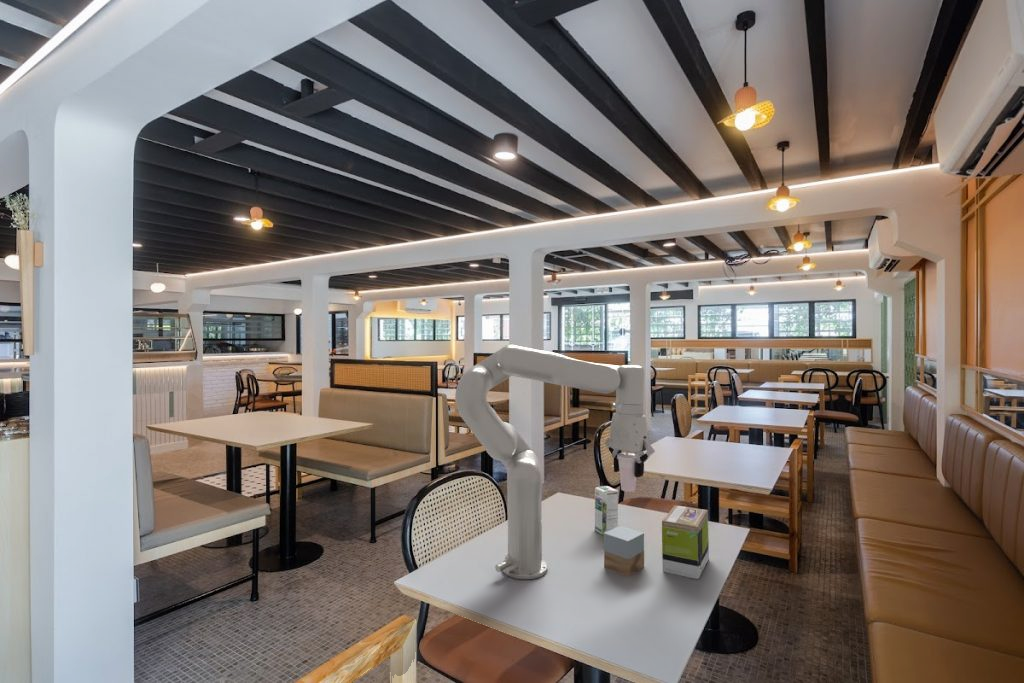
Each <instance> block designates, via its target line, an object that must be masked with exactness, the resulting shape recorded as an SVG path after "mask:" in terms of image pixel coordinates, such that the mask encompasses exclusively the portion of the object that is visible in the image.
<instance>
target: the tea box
mask: <svg viewBox="0 0 1024 683" xmlns="http://www.w3.org/2000/svg"><path fill="white" fill-rule="evenodd" d="M709 540H710V538H709V510H708V509H703V508H702V509H701V508H696V507H690V506H682V505H676V504H675V505H673V507H672V508H671V510H669V512H668V513H667V514H666V515H665V517H664V518H663V519H662V520H661V543H662V544H661V545H662V546H661V551H662V552H661V553H662V557H661V558H662V561H661V562H662V565H661V566H662V571H663V572H664V573H667V572H668V574H671V573H672V575H675V574H677V575H676V576H680V575H681V577H684V576H685V578H689V579H690V578H691V579H694V580H699V579H700V576H701V575H702V573H703V571H704V570H705V567H706V564H707V563H708V561H709V558H710V551H709V550H710V548H709V547H710V546H709V542H710V541H709Z"/></svg>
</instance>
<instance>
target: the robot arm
mask: <svg viewBox="0 0 1024 683" xmlns="http://www.w3.org/2000/svg"><path fill="white" fill-rule="evenodd" d="M511 376H512V377H516V378H522V379H528V380H533V381H539V382H543V383H549V384H551V385H552V384H553V385H558V386H563V387H569V388H573V389H579V390H583V391H590V392H593V393H600V394H611V393H614V392H616V393H615V403H613V405H612V408H613V409H615V412H613V414H612V417H611V421H610V428H609V437H608V438H607V439H606V440H605V441H604V444H605V445H606V447H607V448H608V451H609V453H611V457H612V458H613V472H614V473H618V472H619V473H620V471H619V461H618V459H617V454H619V453H623V452H625V453H626V452H628V453H634V454H635V457H636V460H637V462H636V463H635V477H637V478H640V477H641V478H642V477H644V473H645V462H646V461H647V460H648V459H649V458H650V457H651V456H652V455H653V454H655V453H656V452H655V449H654V448H653V447H652V445H651V444H650V442H649V434H648V423H647V418H646V415H645V414H644V408H645V404H644V403H645V402H644V401H645V368H644V367H642V365H641V366H640V365H638V364H637V365H636V364H634V365H633V364H622V365H615V364H606V363H595V362H591V361H590V362H589V361H585V360H580V359H576V358H572V357H569V356H567V355H563V354H561V353H557V352H552V351H547V350H541V349H536V348H530V347H526V346H525V347H524V346H520V345H516V344H507V345H504V346H502V347H501V348H500V349H499V350H496V351H495V352H494V353H493V354H491V355H489V356H487V357H486V358H485V359H483V360H481V361H480V362H478V363H476V364H475V365H474V364H473V366H471V367H469V368H468V369H467V370H465V371H464V373H463V374H462V375H461V377H460V379H459V381H458V384H457V386H456V390H455V394H454V396H455V397H454V398H455V400H454V401H455V406H456V409H457V412H458V414H459V415H460V418H461V419H462V420H463V421H464V423H465V424H466V425H467V427H468V428H469V430H470V431H471V432H472V433H473V435H474V436H475V438H476V439H477V441H478V442H479V443H480V444H481V446H482V447H483V448H484V450H485V451H486V453H487V454H488V455H489V456H490V457H491V458H492V459H494V460H496V461H499V462H501V463H502V465H503V467H504V468H505V469H506V470H507V473H506V474H507V476H506V489H507V490H506V491H507V492H506V493H507V555H504V557H505V558H504V560H503V562H500V563H497V564H495V567H494V568H495V571H496V573H497V572H498V573H500V572H503V573H504V574H505V575H506V576H508V577H509V578H513V579H516V580H535V579H538V578H541V577H543V576H544V575H546V573H547V572H548V564H547V562H546V561H545V560H543V557H542V556H543V553H542V552H543V549H542V548H543V544H542V539H543V536H542V533H543V530H542V529H543V528H542V526H543V525H542V524H543V523H542V522H543V520H542V515H543V514H542V513H543V512H542V506H543V505H542V504H543V502H542V500H543V499H542V494H543V473H542V467H541V462H540V460H539V458H538V455H537V454H536V453H535V452H534V451H533V449H532V448H531V447H530V446H529V444H528V443H527V441H526V440H525V439H524V437H522V435H521V434H520V432H519V431H518V430H517V429H516V428H515V427H514V426H513V425H512V424H511V423H510V422H506V421H503V420H502V419H501V417H500V416H499V415H498V413H497V412H496V410H495V409H494V408H493V407H492V406H491V404H490V403H489V401H488V399H487V395H488V392H490V390H492V389H493V388H494V387H496V386H498V385H499V384H500V383H503V382H504V381H505V380H507V379H509V378H510V377H511Z"/></svg>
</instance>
